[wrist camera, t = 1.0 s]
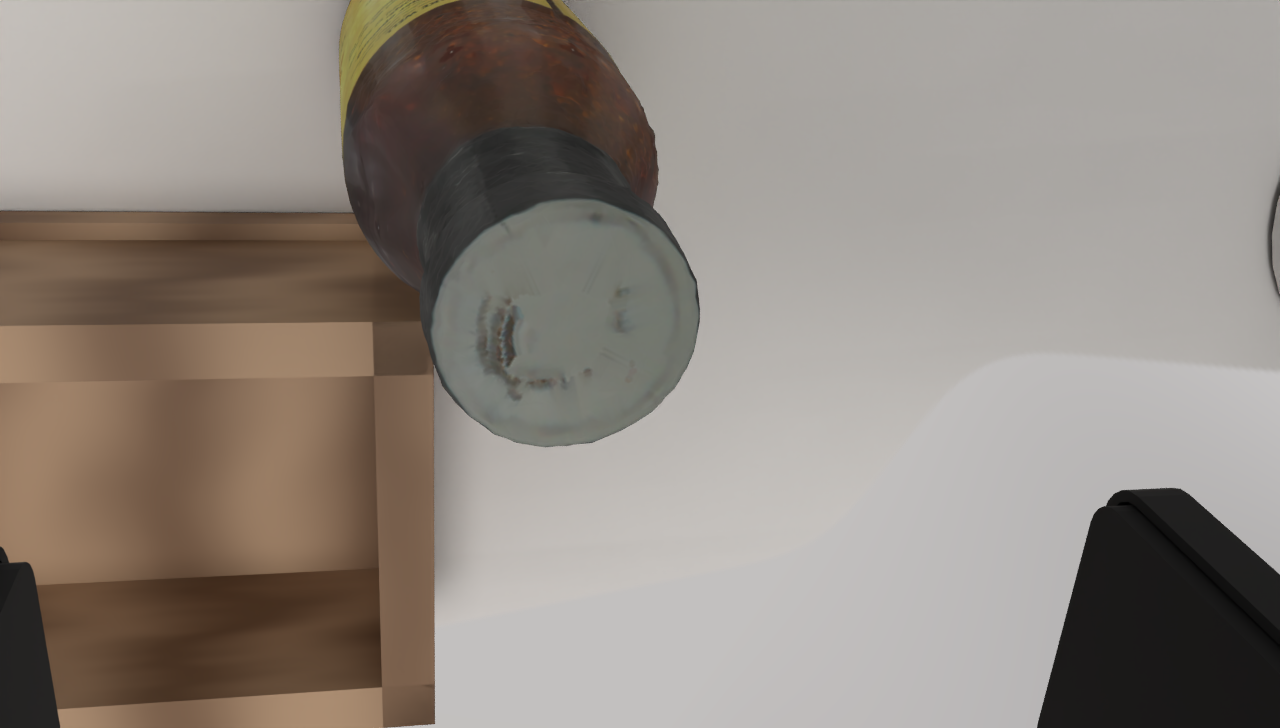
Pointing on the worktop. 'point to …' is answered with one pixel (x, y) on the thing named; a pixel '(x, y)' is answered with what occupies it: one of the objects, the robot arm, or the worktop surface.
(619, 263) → the sauce bottle
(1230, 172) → the worktop surface
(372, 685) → the u rest
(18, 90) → the worktop surface
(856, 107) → the worktop surface
